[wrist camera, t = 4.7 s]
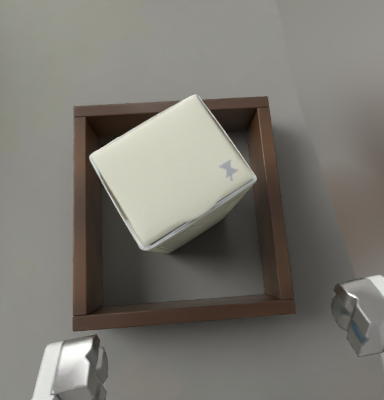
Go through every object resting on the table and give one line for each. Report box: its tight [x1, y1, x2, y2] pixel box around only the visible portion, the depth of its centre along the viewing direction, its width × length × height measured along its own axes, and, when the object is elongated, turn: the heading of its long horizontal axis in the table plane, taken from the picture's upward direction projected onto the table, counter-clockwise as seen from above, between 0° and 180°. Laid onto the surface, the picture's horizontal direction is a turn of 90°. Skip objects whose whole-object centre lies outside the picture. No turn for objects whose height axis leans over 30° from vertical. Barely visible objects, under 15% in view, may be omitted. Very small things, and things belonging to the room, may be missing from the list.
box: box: [89, 95, 257, 254], centre depth 17 cm, size 5×4×11 cm
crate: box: [73, 96, 296, 331], centre depth 21 cm, size 14×13×4 cm
